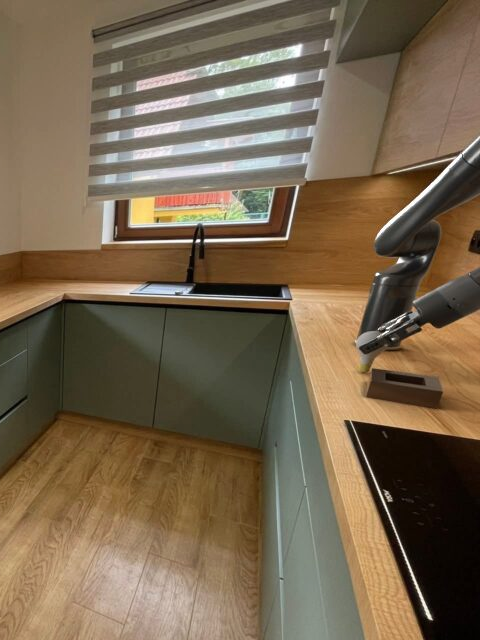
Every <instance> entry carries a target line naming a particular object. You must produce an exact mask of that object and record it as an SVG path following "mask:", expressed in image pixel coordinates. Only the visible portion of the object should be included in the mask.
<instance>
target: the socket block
mask: <svg viewBox="0 0 480 640" xmlns="http://www.w3.org/2000/svg"><path fill="white" fill-rule="evenodd" d="M443 393H444V390H443V387H442V384H441V381H440V377H439V376H436V375H435V376H434V375H427V374H418V373H411V372H403V371H397V370H390V369H383V368H382V369H381V368H375V367H371V368H370V371H369V376H368V379H367V383H366V391H365V397H366V398H372V399H378V400H382V401H390V402H395V403H400V404H401V403H402V404H407V405H413V406H419V407H426V408H432V409H438V407H439V404H440V401H441V399H442V396H443Z"/></svg>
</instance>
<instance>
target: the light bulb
mask: <svg viewBox="0 0 480 640" xmlns="http://www.w3.org/2000/svg"><path fill="white" fill-rule="evenodd" d="M381 334H383V333H381V332H377V331H370V332H366V333H363V334H362V335H361V336H359V338H358V339H357V338H356V339H357V341H356V344H355V345H356V346H355V347H356V349H357V352H358V354H359V357H360V360H359V366H358V371H359V372H361V373H362V374H366V373H370V372H371V369H372V365H373V364H374V361H375V359H377V358H378V357H379V356H380V355H381V354H383V353H384V352H385V351H387V350H386V348H387V347H388V346H385V345H384V346H383V347H381V348H379V349H377V350H375V351H373V352H371V353H369V354H363V353H362V352H361V351H360V350H359V346H361V345H363V344H365V343H367V342H369V341H371V340H373V339H375V338H377V337H378V336H379V335H381Z"/></svg>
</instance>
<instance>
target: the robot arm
mask: <svg viewBox="0 0 480 640" xmlns="http://www.w3.org/2000/svg"><path fill="white" fill-rule="evenodd" d="M478 196H480V133H479V134H478V135H476V137H475V138H474V139H472V141H471V142H469V144H468V145H466V147H464V148H463V149H462V150H461V151H460V153H459V154H458V155H457V156H456V157H455V158H453V160H452V161H451V162H450V163H449V164H448V165H447V166H446V167H445V169H443V170H442V172H441V173H440V174H439V175H437V177H436V178H435V179H434V180H433V181H432V182H431V183H430V184H429V185H427V187H426V188H425V189H424V190H422V192H420V194H419V195H418V196H416V197H415V198H414V199H413V200H412V201H411V202H410V203H409V204H408V205H406V207H404V208H403V209H402V210H400V212H398V213H397V214H396V215H395V216H394V217H393V218H391V219H390V220H389V221H388V222H387V223H385V225H384V226H383V227H381V229H380V230H379V231H378V233H377V235H376V236H375V239H374V242H373V251H374V253H375V255H377V256H379V257H381V258H387V259H397V261H396V263H394V264H392V265H391V266H390V267H387V268H385V269H382V270H379V271H377V272H376V273H374V276H373V278H372V283H371V285H370V290H369V292H368V297H367V300H366V304H365V306H364V311H363V315H362V318H361V321H360V325H359V328H358V331H357V335H356V338H355V340H354V345H356V341H357V339H358V338H359V336H361V335H362V334H363V333H366V332H370V331H377V332H381V333H383V334H381V335H379V336H378V337H377V338H375V339H373V340H371V341H369V342H367V343H365V344H363V345H361V346H359V350H360V351H361V352H362V353H363V354H369V353H371V352H373V351H375V350H377V349H379V348H381V347H383V346H384V345H385V346H388V347H387V348H386V350H385V351H396V350H398V351H399V350H400V349H401V347H402V342H403V340H406V339H408V338H409V337H412V336H414V335H415V334H419V333H421V332H422V331H423V328H422V327H423V326H425V325H426V324H430V325H431V327H434V328H435V329H439V330H440V329H443V328H445V327H447V326H448V325H451V324H453V323H455V322H457V321H459V320H461V319H463V318H465V317H468V316H470V315H472V314H474V313H476V312H478V311H480V266H479V267H478V268H475V269H473V270H471V271H469V272H468V273H465V274H464V275H461V276H459V277H456V278H454V279H452V280H450V281H448V282H445V283H444V284H442V285H440V286H439V287H437V288H435V289H433V290H431V291H429V292H427V293H425V294H424V295H422V296H419V297H418V298H417V296H418V292H419V289H420V285H421V283H422V281H423V279H424V277H425V276H426V275H427V274H428V272H429V270H430V267H431V265H432V262H433V260H434V257H435V255H436V253H437V251H438V248H439V245H440V242H441V239H442V226H441V224H440V223H439V222H438V221H437V220H435V219H436V218H438V217H439V216H441V215H443V214H445V213H447V212H448V211H450V210H453V209H454V208H457V207H458V206H460V205H462V204H465V203H467V202H468V201H471V200H473V199H475V198H477V197H478ZM413 308H414V309H415V310H416V311H413Z"/></svg>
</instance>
